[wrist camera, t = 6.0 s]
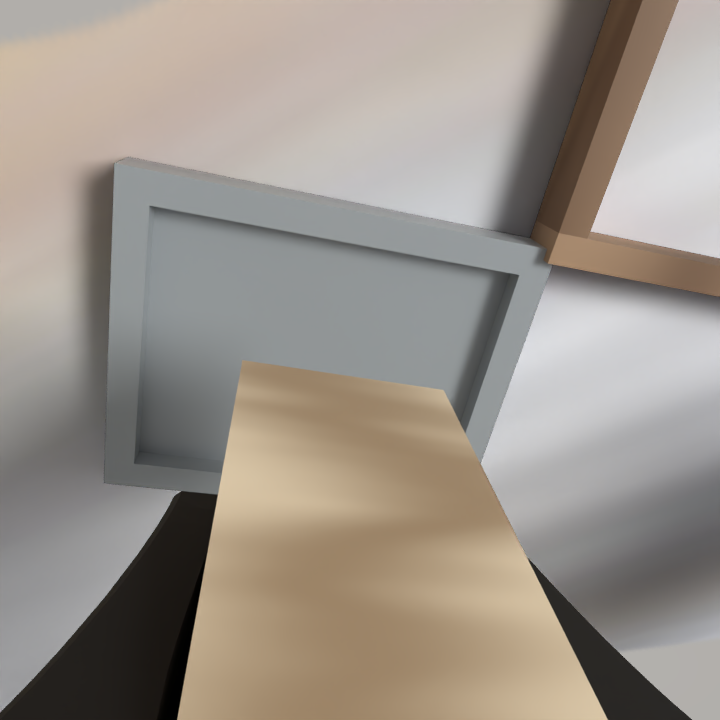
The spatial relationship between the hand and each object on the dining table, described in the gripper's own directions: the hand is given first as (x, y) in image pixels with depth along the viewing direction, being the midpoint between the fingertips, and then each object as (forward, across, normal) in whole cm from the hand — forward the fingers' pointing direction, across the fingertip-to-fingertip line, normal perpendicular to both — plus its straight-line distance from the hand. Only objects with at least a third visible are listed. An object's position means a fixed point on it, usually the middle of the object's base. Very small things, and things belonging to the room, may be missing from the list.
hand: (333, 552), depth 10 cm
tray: (+8, 0, 0) cm, 8 cm away
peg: (+2, 0, 0) cm, 3 cm away
